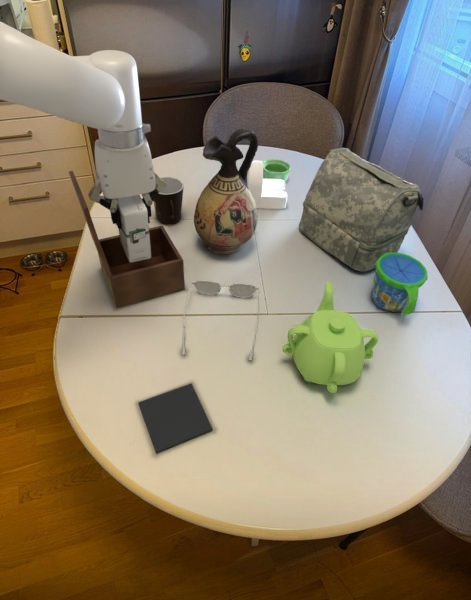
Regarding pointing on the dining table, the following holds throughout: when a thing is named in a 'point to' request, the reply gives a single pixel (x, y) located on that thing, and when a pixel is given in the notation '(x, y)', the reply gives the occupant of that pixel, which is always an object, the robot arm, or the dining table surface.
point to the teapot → (330, 345)
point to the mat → (174, 417)
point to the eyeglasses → (214, 287)
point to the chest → (143, 270)
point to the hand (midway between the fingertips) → (132, 221)
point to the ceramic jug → (227, 196)
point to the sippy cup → (398, 282)
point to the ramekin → (276, 169)
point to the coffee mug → (169, 201)
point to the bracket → (266, 188)
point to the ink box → (134, 228)
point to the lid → (89, 223)
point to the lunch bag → (358, 209)
